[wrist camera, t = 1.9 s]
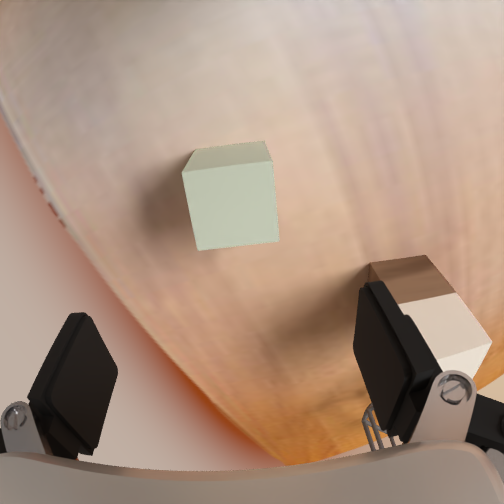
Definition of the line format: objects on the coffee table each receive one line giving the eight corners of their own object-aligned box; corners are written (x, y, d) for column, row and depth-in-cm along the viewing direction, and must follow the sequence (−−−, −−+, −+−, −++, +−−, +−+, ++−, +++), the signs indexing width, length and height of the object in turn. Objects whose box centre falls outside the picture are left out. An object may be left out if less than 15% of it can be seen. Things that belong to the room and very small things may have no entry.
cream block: (394, 304, 23) (425, 362, 17) (456, 292, 23) (492, 341, 17) (382, 356, 26) (404, 410, 21) (439, 342, 26) (465, 390, 20)
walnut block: (369, 262, 28) (394, 304, 23) (425, 254, 28) (456, 292, 23) (363, 312, 31) (383, 356, 26) (415, 303, 31) (439, 342, 26)
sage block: (195, 149, 22) (181, 172, 17) (264, 140, 22) (272, 160, 17) (206, 211, 25) (197, 250, 20) (270, 204, 25) (279, 241, 20)
